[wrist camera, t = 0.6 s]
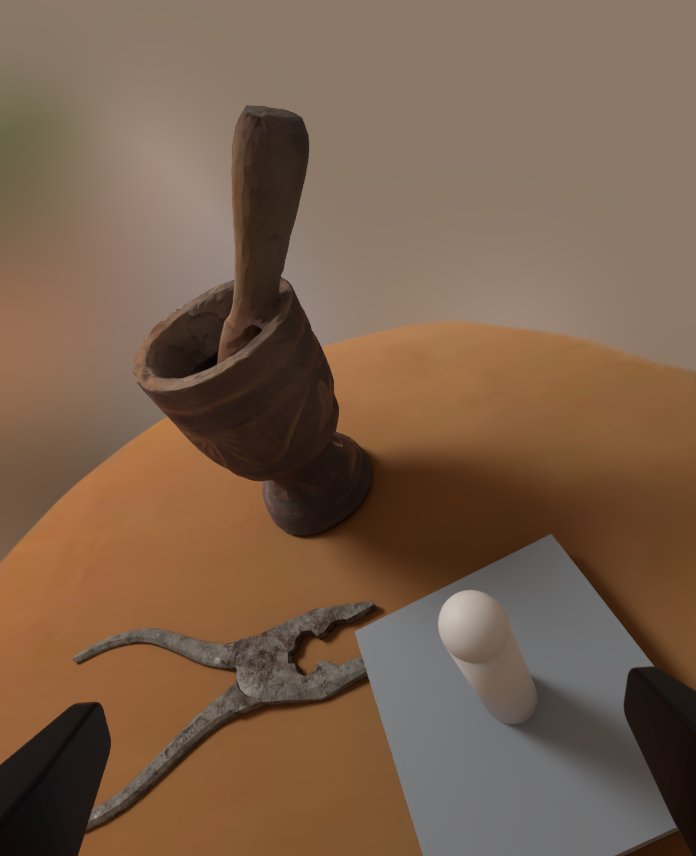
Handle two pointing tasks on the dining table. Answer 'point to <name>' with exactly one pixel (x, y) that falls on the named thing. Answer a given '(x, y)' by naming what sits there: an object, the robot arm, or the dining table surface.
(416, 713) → the pin base
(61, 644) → the dining table surface
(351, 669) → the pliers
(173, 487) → the dining table surface
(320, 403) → the mortar and pestle
